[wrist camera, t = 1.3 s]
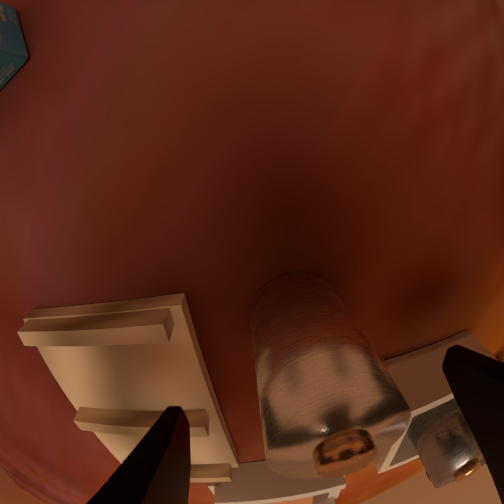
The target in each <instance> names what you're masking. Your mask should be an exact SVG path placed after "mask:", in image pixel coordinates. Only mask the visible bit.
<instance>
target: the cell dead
mask: <svg viewBox="0 0 504 504" xmlns="http://www.w3.org/2000/svg"><path fill="white" fill-rule="evenodd" d="M407 434H408V436H409V438H410V440H411V442H412V444H413V446H414V448H415V449H416V451H417V453H418V455H419V457H420V459H421V461H422V463H423V465H424V467H425V469H426V471H427V473H428V475H429V477H430V479H431V481H432V483H433V485H434V487H435V488H439V487H442V486H444V485H446V484H448V483H450V482H452V481H453V480H456V482H457V483H459V482H461V481H463V480H465V479H466V478H467V477H469V476H470V475H472V474H473V473H474V472H475V471H477V470H478V469H479V468H480V467H481V463H480V462H479V461H480V460H482V459H483V458H484V457H483V455H482V453H481V451H480V448H479V446H478V444H477V442H476V440H475V438H474V436H473V434H472V432H471V430H470V428H469V426H468V424H467V422H466V420H465V418H464V416H463V414H462V412H461V410H460V409H459V407H458V405H457V403H456V401H455V398H453V399H451V400H449V401H447V402H445V403H443V404H441V405H438V406H436V407H434V408H432V409H430V410H428V411H425V412H423V413H421V414H418V415H416V416H414V417H413V418H412V420H411V423H410V425H409V427H408V429H407Z"/></svg>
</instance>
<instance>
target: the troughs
mask: <svg viewBox="0 0 504 504" xmlns="http://www.w3.org/2000/svg"><path fill="white" fill-rule="evenodd" d="M23 320H24V322H25V324H24V325H23V326H22V327H21V328H20V329H19V330H18V331H17V332H18V334H19V336H20V338H21V340H22V342H23V344H24V346H37V348H38V350H39V352H40V353H41V355H42V357H43V359H44V360H45V362H46V364H47V366H48V367H49V369H50V371H51V372H52V374H53V376H54V377H55V379H56V380H57V382H58V384H59V385H60V387H61V388H62V390H63V391H64V393H65V394H66V396H67V397H68V399H69V400H70V401H71V403H72V404H73V406H74V407H75V408H76V410H77V414H76V416H75V418H74V420H73V421H74V422H75V423H76V425H77V426H78V427H79V428H80V429H81V430H85V431H92V432H94V433H95V434H96V436H97V437H98V438H99V439H100V440H101V442H102V443H103V444H104V445H105V446H106V447H107V448H108V450H109V451H110V452H111V453H112V454H113V455H114V456H115V457H116V458H117V459H118V460H119V462H120V463H121V464H122V462H123V461H124V460H125V459H126V458H127V456H128V455H129V454H130V453H131V451H132V450H133V449H134V448H135V447H136V445H137V444H138V443H139V442H140V440H141V439H142V438H143V437H144V435H145V434H146V433H147V432H148V430H149V429H150V428H151V427H152V425H153V424H154V423H155V422H156V420H157V419H158V418H159V417H160V415H161V414H162V413H163V412H164V410H165V409H166V408H167V407H168V406H181V407H182V408H183V410H184V412H185V414H186V416H187V418H188V420H189V424H190V450H191V474H190V482H230V481H232V468H238V467H239V457H238V454H237V451H236V449H235V446H234V444H233V441H232V439H231V436H230V434H229V431H228V428H227V426H226V423H225V420H224V417H223V415H222V412H221V409H220V406H219V404H218V401H217V398H216V395H215V392H214V389H213V386H212V383H211V380H210V377H209V374H208V371H207V368H206V365H205V362H204V358H203V355H202V352H201V349H200V345H199V342H198V339H197V335H196V332H195V329H194V325H193V322H192V318H191V315H190V311H189V307H188V304H187V300H186V296H185V293H181V294H173V295H165V296H157V297H149V298H141V299H132V300H124V301H115V302H106V303H96V304H86V305H76V306H66V307H55V308H43V309H32V310H31V311H30V312H29V313H28V314H27V315H26V316H25V317H24V318H23Z"/></svg>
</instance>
